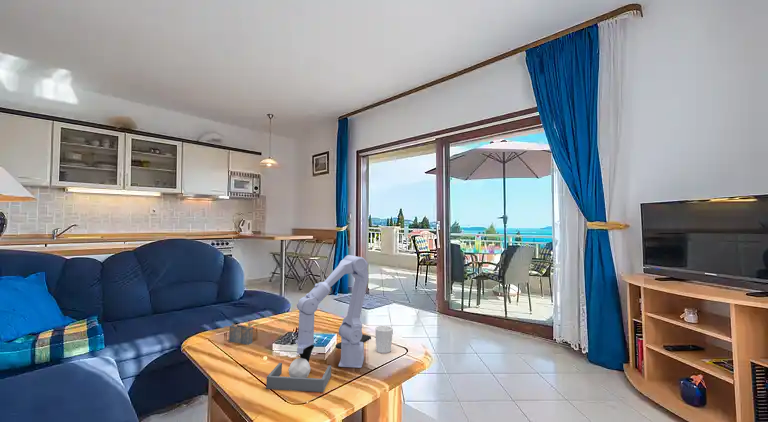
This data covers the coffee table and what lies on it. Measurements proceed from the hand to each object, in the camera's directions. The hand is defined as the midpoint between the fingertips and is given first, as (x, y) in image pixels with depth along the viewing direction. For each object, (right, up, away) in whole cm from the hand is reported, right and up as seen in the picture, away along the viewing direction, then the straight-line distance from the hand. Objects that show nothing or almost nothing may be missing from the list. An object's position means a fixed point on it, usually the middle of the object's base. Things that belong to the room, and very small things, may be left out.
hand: (305, 365), depth 126 cm
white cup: (+30, -5, +26) cm, 40 cm away
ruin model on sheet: (-38, -4, +32) cm, 50 cm away
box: (0, -3, -6) cm, 7 cm away
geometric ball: (-1, -3, -4) cm, 6 cm away
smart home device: (+15, -6, +35) cm, 39 cm away
